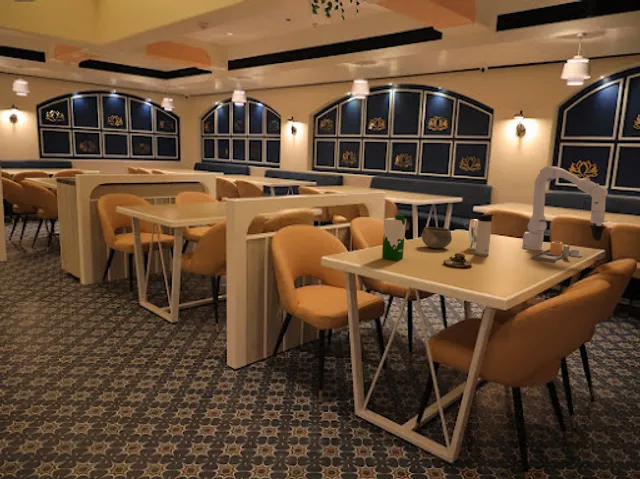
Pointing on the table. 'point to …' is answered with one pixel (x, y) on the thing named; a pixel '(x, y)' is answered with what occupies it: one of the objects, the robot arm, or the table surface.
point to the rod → (565, 252)
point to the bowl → (436, 237)
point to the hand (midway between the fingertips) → (596, 239)
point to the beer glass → (473, 233)
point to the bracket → (575, 253)
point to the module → (556, 248)
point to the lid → (545, 257)
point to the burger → (458, 261)
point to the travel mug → (483, 235)
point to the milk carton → (393, 238)
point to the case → (549, 253)
